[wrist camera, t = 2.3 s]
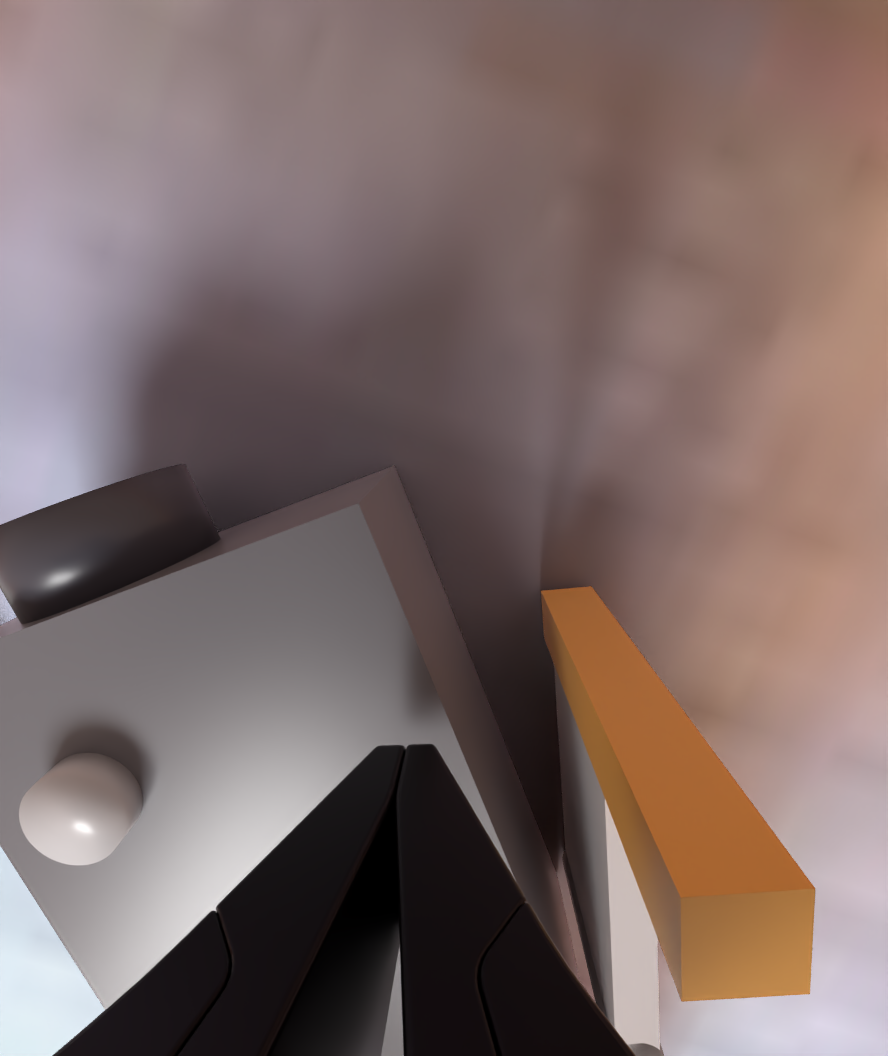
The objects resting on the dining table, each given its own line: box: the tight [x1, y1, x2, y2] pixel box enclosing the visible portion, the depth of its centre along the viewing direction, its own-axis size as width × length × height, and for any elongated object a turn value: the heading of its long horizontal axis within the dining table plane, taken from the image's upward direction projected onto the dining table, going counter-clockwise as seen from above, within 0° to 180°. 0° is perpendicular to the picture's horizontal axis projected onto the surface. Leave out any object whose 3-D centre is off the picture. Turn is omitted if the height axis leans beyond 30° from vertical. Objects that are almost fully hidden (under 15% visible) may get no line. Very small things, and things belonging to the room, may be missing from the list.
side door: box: [541, 586, 815, 1056], centre depth 10 cm, size 8×1×8 cm, turn 6°
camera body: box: [0, 464, 580, 1056], centre depth 12 cm, size 14×8×6 cm, turn 21°
